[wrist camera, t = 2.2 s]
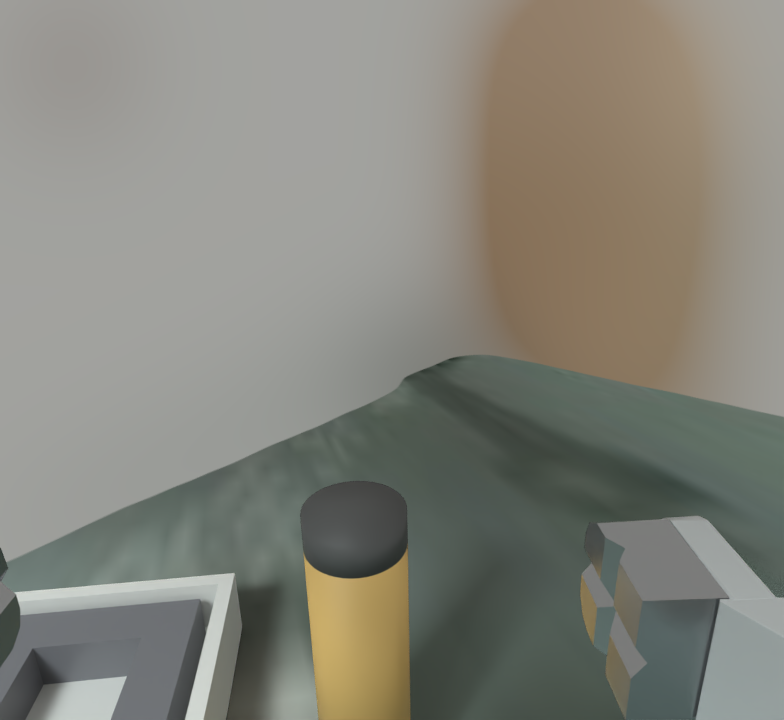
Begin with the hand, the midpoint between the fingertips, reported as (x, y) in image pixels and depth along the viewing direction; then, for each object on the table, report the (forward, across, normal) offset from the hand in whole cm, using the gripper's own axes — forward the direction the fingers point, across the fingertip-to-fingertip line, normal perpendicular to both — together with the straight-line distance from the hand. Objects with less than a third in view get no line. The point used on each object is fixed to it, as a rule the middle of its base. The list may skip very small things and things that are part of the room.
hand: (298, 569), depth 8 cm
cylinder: (+12, 0, +22) cm, 25 cm away
